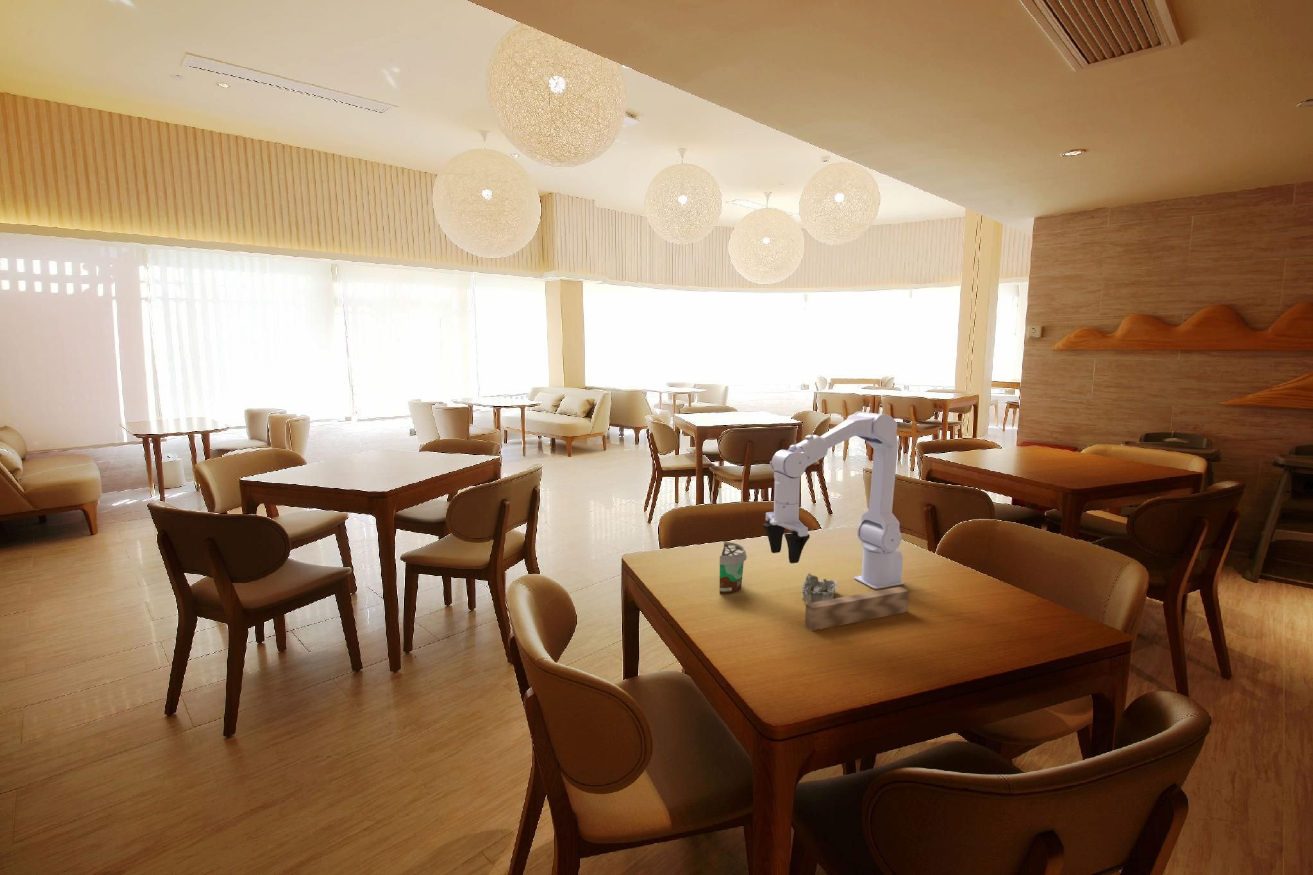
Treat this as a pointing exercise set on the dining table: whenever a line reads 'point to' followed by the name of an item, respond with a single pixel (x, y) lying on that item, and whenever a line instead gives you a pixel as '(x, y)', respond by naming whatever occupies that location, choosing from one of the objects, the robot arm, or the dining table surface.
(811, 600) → the egg carton
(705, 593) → the dining table surface
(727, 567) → the food container
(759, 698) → the dining table surface
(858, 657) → the dining table surface
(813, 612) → the walnut board
